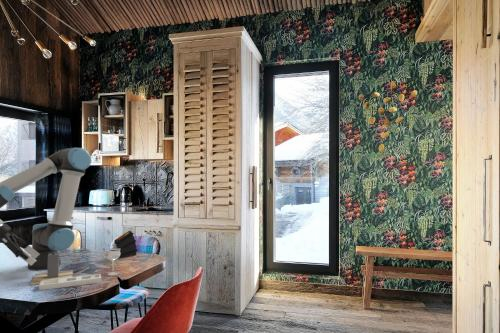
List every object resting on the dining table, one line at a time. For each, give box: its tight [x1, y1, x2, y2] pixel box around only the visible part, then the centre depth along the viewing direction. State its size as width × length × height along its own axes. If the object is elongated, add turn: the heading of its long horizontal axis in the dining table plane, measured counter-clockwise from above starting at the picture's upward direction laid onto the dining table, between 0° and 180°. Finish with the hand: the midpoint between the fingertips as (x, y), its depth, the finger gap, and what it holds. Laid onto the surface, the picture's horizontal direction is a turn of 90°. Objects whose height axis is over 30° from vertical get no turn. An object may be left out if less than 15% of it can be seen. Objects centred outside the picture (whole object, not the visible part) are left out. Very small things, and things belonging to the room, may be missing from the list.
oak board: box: [30, 269, 74, 287], centre depth 156 cm, size 16×16×1 cm
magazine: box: [113, 230, 138, 259], centre depth 200 cm, size 4×13×15 cm, turn 140°
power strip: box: [38, 273, 102, 291], centre depth 148 cm, size 7×24×3 cm, turn 117°
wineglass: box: [105, 247, 121, 276], centre depth 165 cm, size 7×7×12 cm
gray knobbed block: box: [46, 252, 60, 278], centre depth 156 cm, size 4×4×11 cm
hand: (35, 259), depth 152 cm, fingers open, 13 cm apart
